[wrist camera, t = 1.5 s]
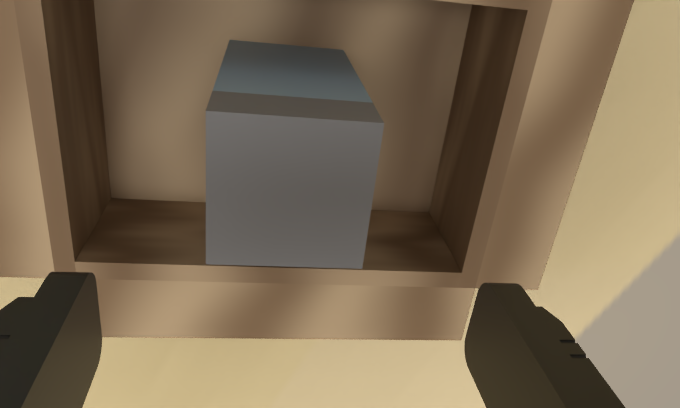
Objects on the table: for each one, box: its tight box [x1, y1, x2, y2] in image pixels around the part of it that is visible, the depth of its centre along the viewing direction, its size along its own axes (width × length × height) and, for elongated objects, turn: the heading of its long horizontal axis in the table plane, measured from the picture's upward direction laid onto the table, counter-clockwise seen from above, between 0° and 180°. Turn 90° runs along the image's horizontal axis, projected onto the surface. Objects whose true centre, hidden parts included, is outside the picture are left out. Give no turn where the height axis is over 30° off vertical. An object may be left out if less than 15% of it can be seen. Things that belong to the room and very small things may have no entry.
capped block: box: [206, 40, 384, 269], centre depth 21 cm, size 5×5×10 cm
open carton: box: [0, 0, 634, 340], centre depth 23 cm, size 24×19×6 cm
